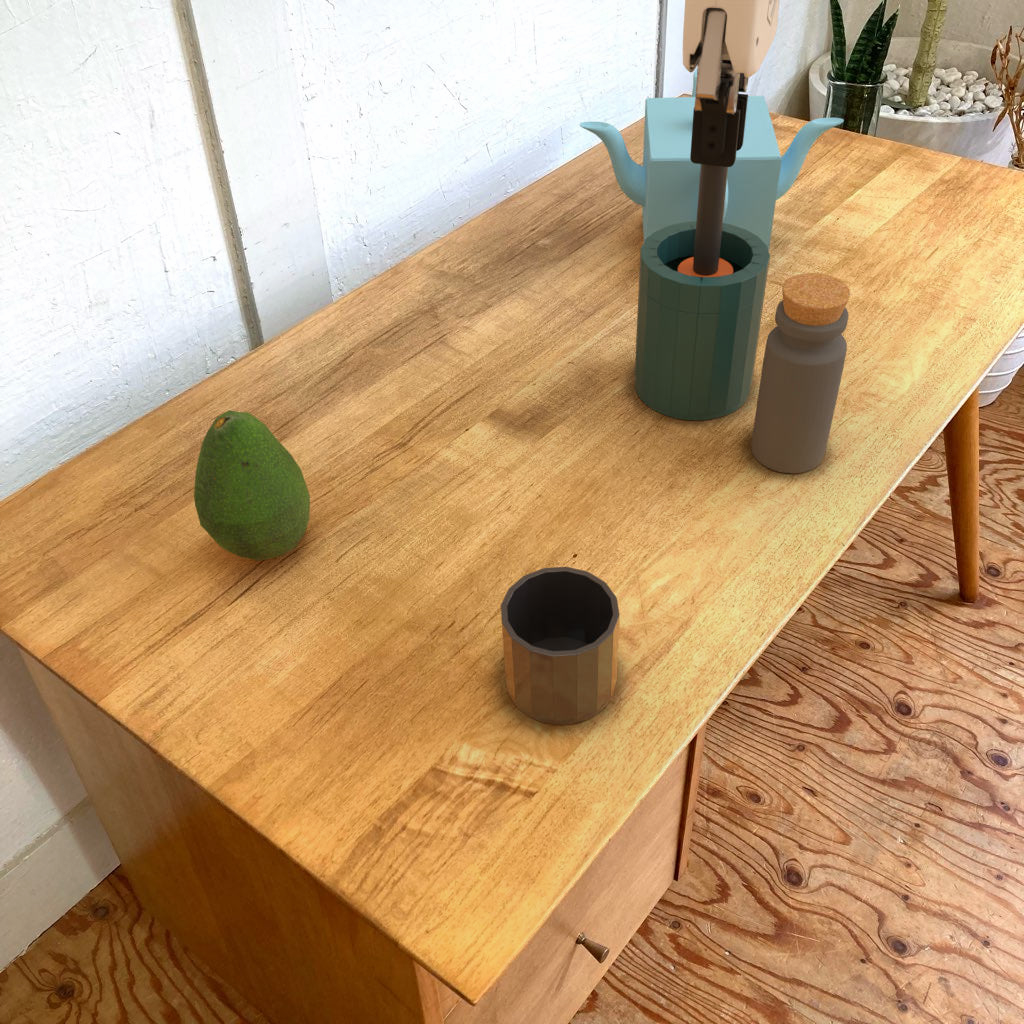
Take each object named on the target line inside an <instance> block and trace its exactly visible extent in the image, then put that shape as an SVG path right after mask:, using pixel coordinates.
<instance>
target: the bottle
mask: <svg viewBox="0 0 1024 1024" xmlns="http://www.w3.org/2000/svg"><path fill="white" fill-rule="evenodd" d="M781 289H782V290H781V293H782V300H780V301H779V303H778V304H777V306H776V309H775V314H774V321H775V325H776V326H775V327H774V328H772V329H771V331H769V333H768V334H767V338H766V343H765V349H764V354H763V355H764V356H763V360H762V367H761V372H760V373H761V374H760V380H759V388H758V395H757V401H756V409H755V415H754V421H753V430H752V437H751V445H750V446H751V453H752V455H753V456H754V458H755V459H756V461H757V462H759V464H761V465H762V466H764V467H766V468H768V469H769V470H772V471H775V472H778V473H783V474H802V473H807V472H810V471H813V470H814V469H816V468H817V467H818V466H819V465H820V464H821V463H822V462H823V460H824V458H825V454H826V451H827V447H828V442H829V438H830V433H831V429H832V423H833V419H834V414H835V409H836V405H837V400H838V396H839V395H838V394H839V390H840V386H841V381H842V376H843V371H844V367H845V362H846V356H847V350H848V343H847V340H846V338H845V336H844V335H843V333H844V332H845V330H846V329H847V327H848V321H849V310H848V309H847V307H846V306H847V304H848V302H849V300H850V297H851V290H850V287H849V286H848V285H847V284H846V283H845V282H844V281H843V280H841V279H840V278H837V277H835V276H832V275H829V274H826V273H820V272H805V273H799V274H796V275H793V276H791V277H788V279H786V280H785V281H784V282H783V285H782V287H781Z"/></svg>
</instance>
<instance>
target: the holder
mask: <svg viewBox="0 0 1024 1024" xmlns="http://www.w3.org/2000/svg"><path fill="white" fill-rule="evenodd" d="M500 615H501V616H500V617H501V619H500V620H501V632H502V645H503V657H504V658H503V660H504V672H505V687H506V689H507V692H508V695H509V698H510V700H511V701H512V702H513V704H514V705H515V706H516V707H517V708H518V710H520V711H521V712H522V713H523V714H525V715H526V716H528V717H529V718H531V719H533V720H535V721H537V722H540V723H543V724H544V723H545V724H548V725H556V726H567V725H573V724H578V723H581V722H584V721H587V720H589V719H591V718H593V717H595V716H596V715H598V714H599V713H600V712H602V711H603V710H604V709H605V707H607V705H608V704H609V702H610V701H611V700H612V698H613V696H614V693H615V689H616V685H617V684H616V683H617V681H618V663H619V661H618V659H619V641H620V640H619V639H620V638H619V637H620V636H619V635H620V609H619V603H618V597H617V595H616V594H615V593H614V591H612V589H611V588H610V586H609V585H608V584H607V582H605V581H604V580H602V579H601V578H599V576H596V575H594V574H593V573H591V572H589V571H587V570H582V569H578V568H574V567H570V566H556V567H553V566H552V567H543V568H541V569H538V570H535V571H532V572H530V573H528V574H525V575H523V576H522V577H521V578H519V579H518V580H517V581H515V583H513V584H512V585H511V586H510V587H509V588H508V589H507V591H506V593H505V595H504V597H503V600H502V602H501V604H500Z"/></svg>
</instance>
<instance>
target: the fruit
mask: <svg viewBox="0 0 1024 1024" xmlns="http://www.w3.org/2000/svg"><path fill="white" fill-rule="evenodd" d="M307 486H308V485H307V483H306V480H305V477H304V474H303V471H302V469H301V467H300V466H299V464H298V463H297V461H296V460H295V458H294V457H293V456H292V454H291V453H290V452H289V451H288V450H287V448H286V447H285V446H284V445H283V444H282V443H281V442H280V441H279V439H277V437H276V436H275V435H274V434H273V432H272V431H271V430H270V429H269V427H268V426H267V425H266V424H265V423H264V422H263V421H261V420H260V419H259V418H257V417H256V416H254V415H253V414H252V413H250V412H247V411H236V410H232V409H229V410H227V411H225V412H223V413H221V414H220V415H218V416H217V417H216V418H215V419H214V421H213V422H212V424H211V425H210V426H209V428H208V430H207V431H206V433H205V436H204V438H203V440H202V443H201V445H200V451H199V454H198V458H197V463H196V469H195V477H194V487H193V488H194V490H193V500H194V506H195V510H196V514H197V517H198V521H199V525H200V527H201V528H203V530H204V531H205V532H206V533H207V534H208V535H209V536H210V537H211V538H212V539H213V541H214V542H215V543H216V544H217V545H218V546H219V547H220V548H221V549H223V550H225V551H227V552H228V553H230V554H232V555H235V556H237V557H239V558H244V559H248V560H252V561H255V562H259V561H267V560H273V559H275V558H278V557H282V556H284V555H285V554H287V553H289V552H290V551H292V550H294V549H296V548H297V546H298V545H299V544H300V542H301V540H302V539H303V538H304V535H305V533H306V531H307V528H308V524H309V521H310V508H311V495H310V491H309V488H308V487H307Z"/></svg>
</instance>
